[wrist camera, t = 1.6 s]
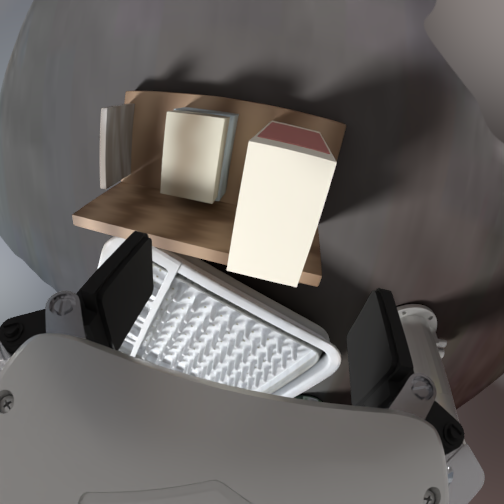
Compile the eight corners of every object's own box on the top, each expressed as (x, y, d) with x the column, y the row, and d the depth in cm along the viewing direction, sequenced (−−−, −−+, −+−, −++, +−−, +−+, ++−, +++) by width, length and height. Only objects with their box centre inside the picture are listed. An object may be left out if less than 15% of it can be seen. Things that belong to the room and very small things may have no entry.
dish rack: (252, 396, 58) (246, 426, 51) (103, 317, 52) (84, 344, 46) (354, 320, 42) (359, 360, 35) (140, 193, 36) (107, 218, 29)
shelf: (343, 123, 27) (368, 140, 17) (313, 226, 34) (317, 286, 24) (134, 90, 28) (68, 99, 18) (129, 185, 35) (73, 224, 25)
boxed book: (319, 131, 26) (337, 161, 15) (299, 209, 31) (296, 287, 19) (272, 120, 27) (249, 139, 15) (255, 198, 31) (226, 270, 20)
